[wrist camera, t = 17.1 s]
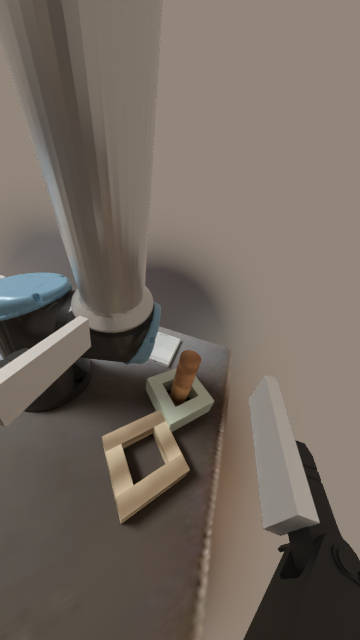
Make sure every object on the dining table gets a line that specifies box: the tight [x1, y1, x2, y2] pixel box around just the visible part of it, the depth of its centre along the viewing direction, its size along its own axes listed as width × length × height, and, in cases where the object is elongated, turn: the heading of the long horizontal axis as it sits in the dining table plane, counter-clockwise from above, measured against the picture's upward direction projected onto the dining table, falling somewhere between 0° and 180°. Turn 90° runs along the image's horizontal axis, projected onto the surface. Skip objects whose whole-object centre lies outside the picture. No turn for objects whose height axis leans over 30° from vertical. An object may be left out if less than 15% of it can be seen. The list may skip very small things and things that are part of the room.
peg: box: [169, 350, 201, 407], centre depth 37 cm, size 4×4×14 cm
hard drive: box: [148, 332, 181, 368], centre depth 54 cm, size 2×8×12 cm
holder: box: [102, 410, 190, 524], centre depth 30 cm, size 11×11×2 cm
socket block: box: [146, 368, 214, 432], centre depth 40 cm, size 11×11×4 cm
